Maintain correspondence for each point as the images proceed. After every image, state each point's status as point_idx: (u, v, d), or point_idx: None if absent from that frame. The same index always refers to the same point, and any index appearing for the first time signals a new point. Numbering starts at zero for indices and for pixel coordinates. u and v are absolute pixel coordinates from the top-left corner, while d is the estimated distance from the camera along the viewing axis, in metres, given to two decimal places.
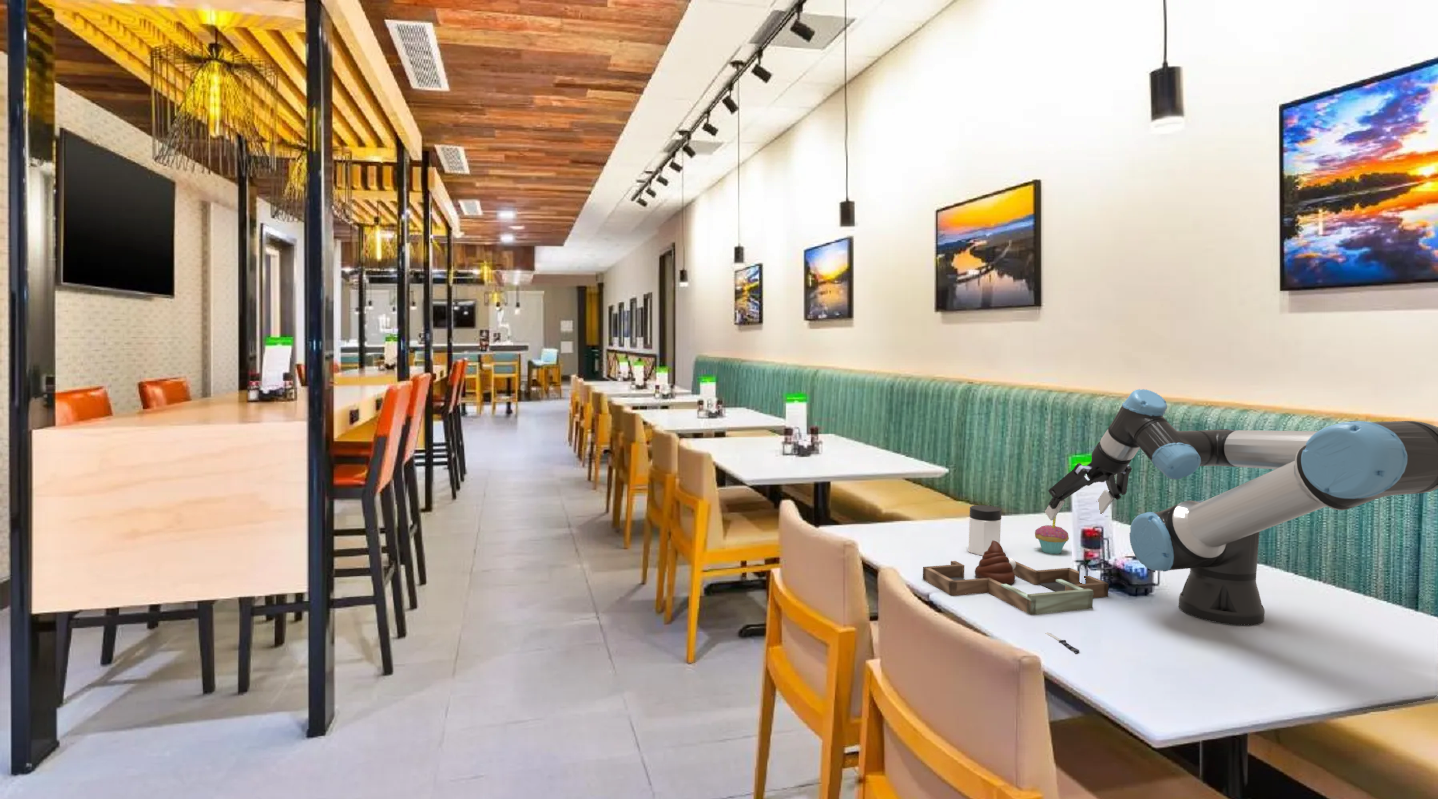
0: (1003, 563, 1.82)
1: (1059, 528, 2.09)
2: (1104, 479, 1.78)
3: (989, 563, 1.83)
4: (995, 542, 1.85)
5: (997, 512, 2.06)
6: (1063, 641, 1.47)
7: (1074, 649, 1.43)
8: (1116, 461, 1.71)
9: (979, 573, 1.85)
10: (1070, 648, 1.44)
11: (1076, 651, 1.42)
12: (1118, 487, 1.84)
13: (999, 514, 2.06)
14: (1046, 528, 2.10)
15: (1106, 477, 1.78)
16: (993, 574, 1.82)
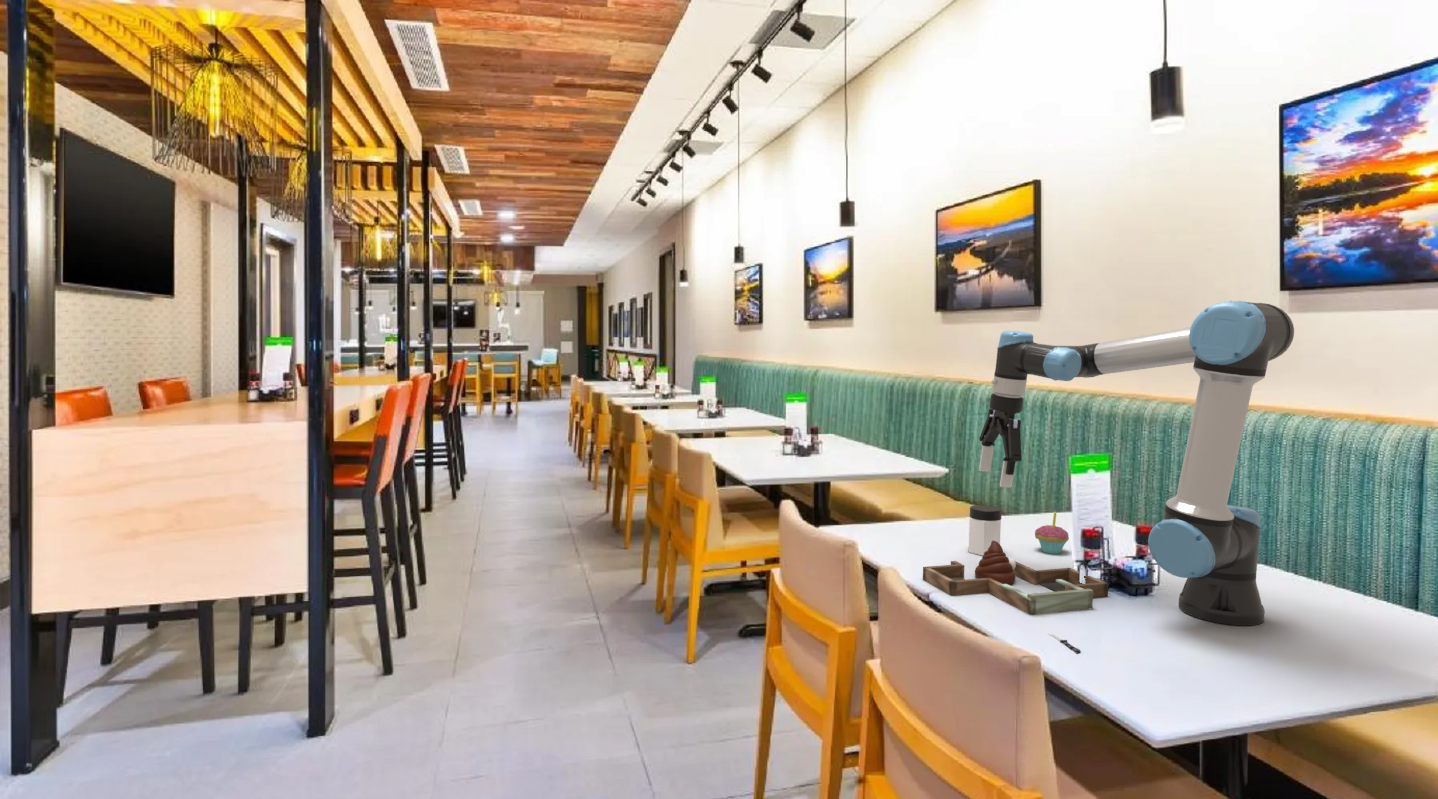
0: (1003, 563, 1.82)
1: (1059, 528, 2.09)
2: None
3: (989, 563, 1.83)
4: (995, 542, 1.85)
5: (997, 512, 2.06)
6: (1064, 641, 1.47)
7: (1075, 649, 1.43)
8: (1022, 398, 1.88)
9: (979, 573, 1.85)
10: (1071, 648, 1.44)
11: (1077, 651, 1.42)
12: None
13: (999, 514, 2.06)
14: (1046, 528, 2.10)
15: None
16: (993, 574, 1.82)
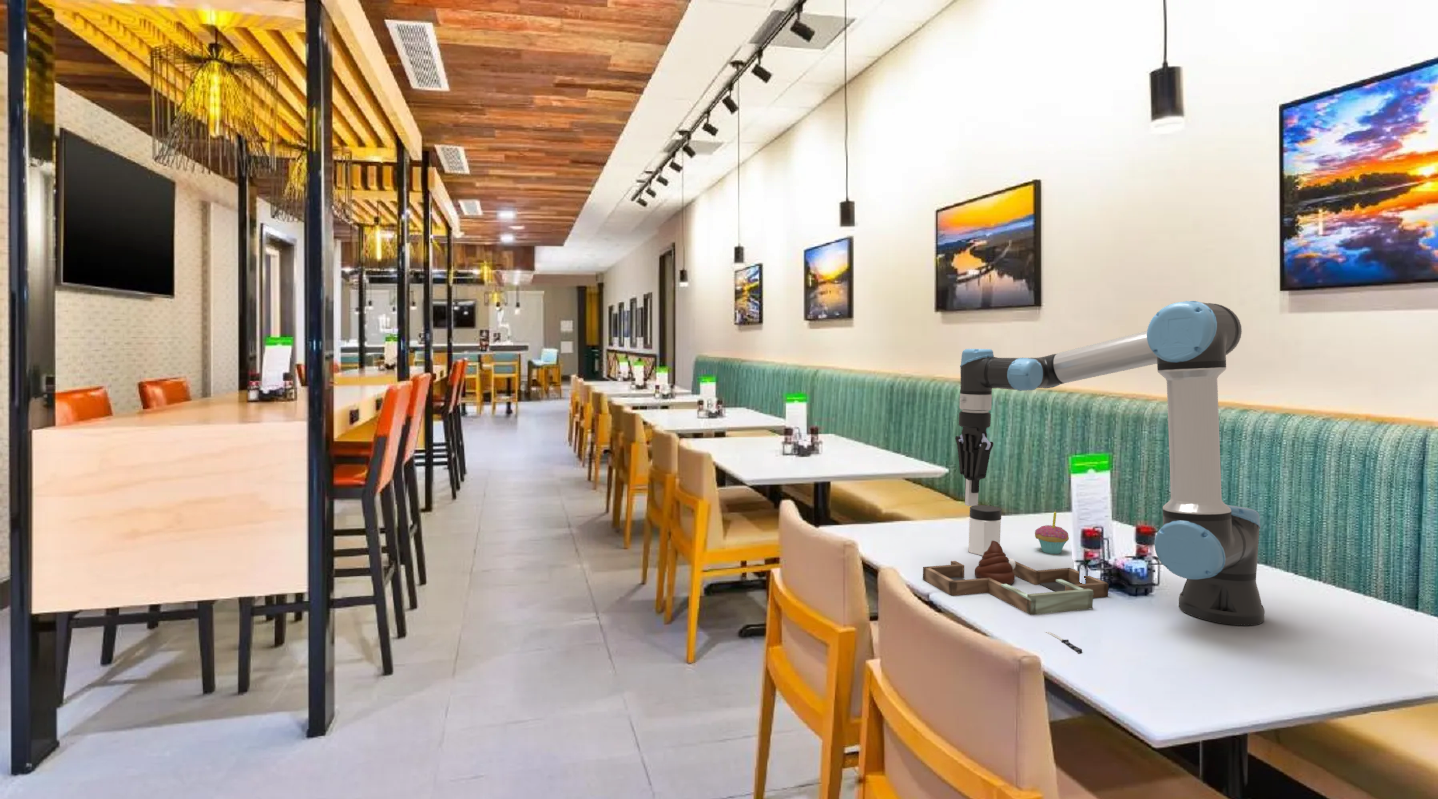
0: (1003, 563, 1.82)
1: (1059, 528, 2.09)
2: None
3: (989, 563, 1.83)
4: (995, 542, 1.85)
5: (997, 512, 2.06)
6: (1066, 641, 1.47)
7: (1077, 648, 1.43)
8: None
9: (979, 573, 1.84)
10: (1073, 647, 1.44)
11: (1079, 650, 1.42)
12: None
13: (999, 514, 2.06)
14: (1046, 528, 2.10)
15: None
16: (992, 574, 1.82)
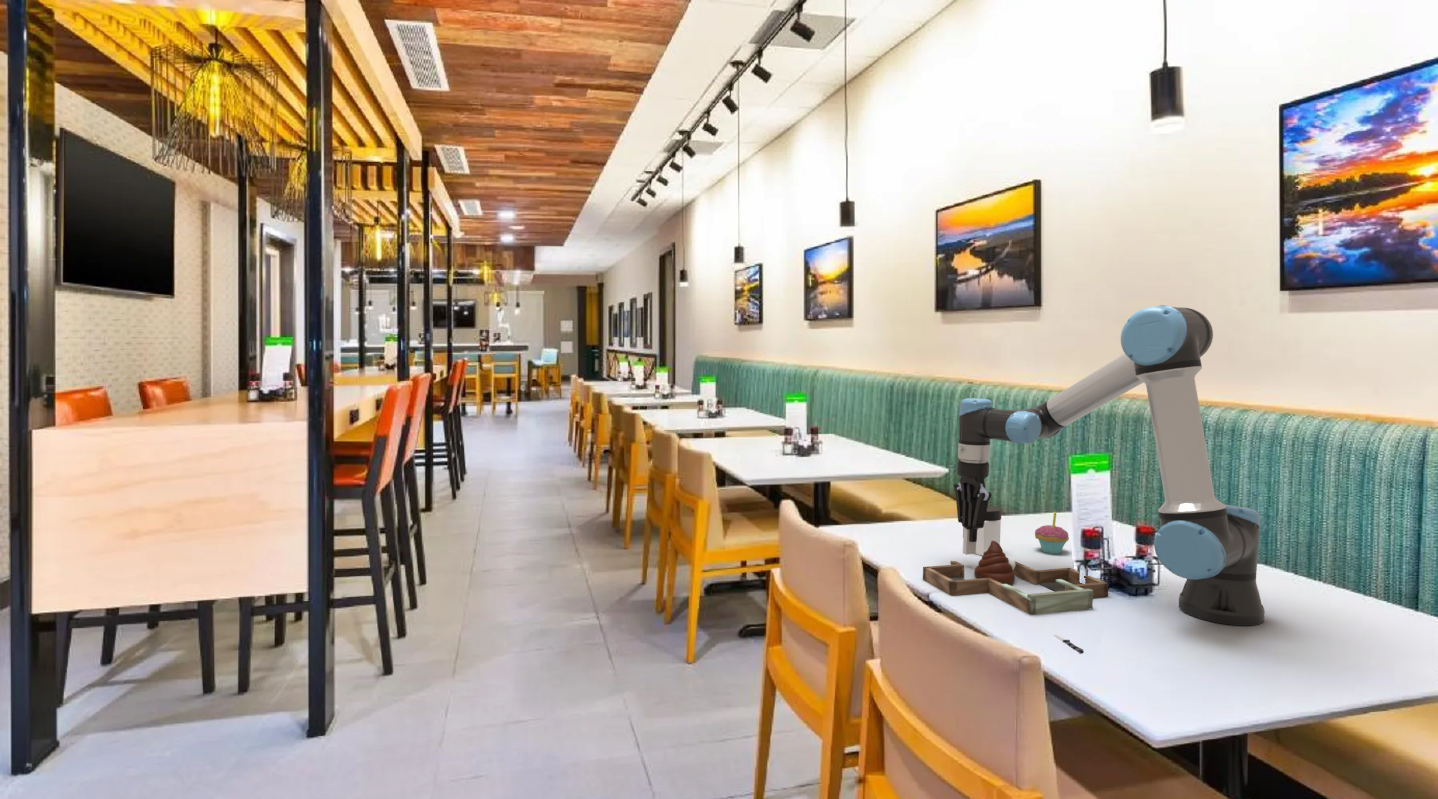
0: (1002, 563, 1.82)
1: (1059, 528, 2.09)
2: None
3: (989, 563, 1.83)
4: (994, 542, 1.85)
5: (997, 512, 2.06)
6: (1067, 641, 1.47)
7: (1078, 649, 1.43)
8: None
9: (979, 573, 1.84)
10: (1074, 648, 1.44)
11: (1080, 651, 1.42)
12: None
13: (999, 514, 2.06)
14: (1046, 528, 2.10)
15: None
16: (992, 574, 1.82)
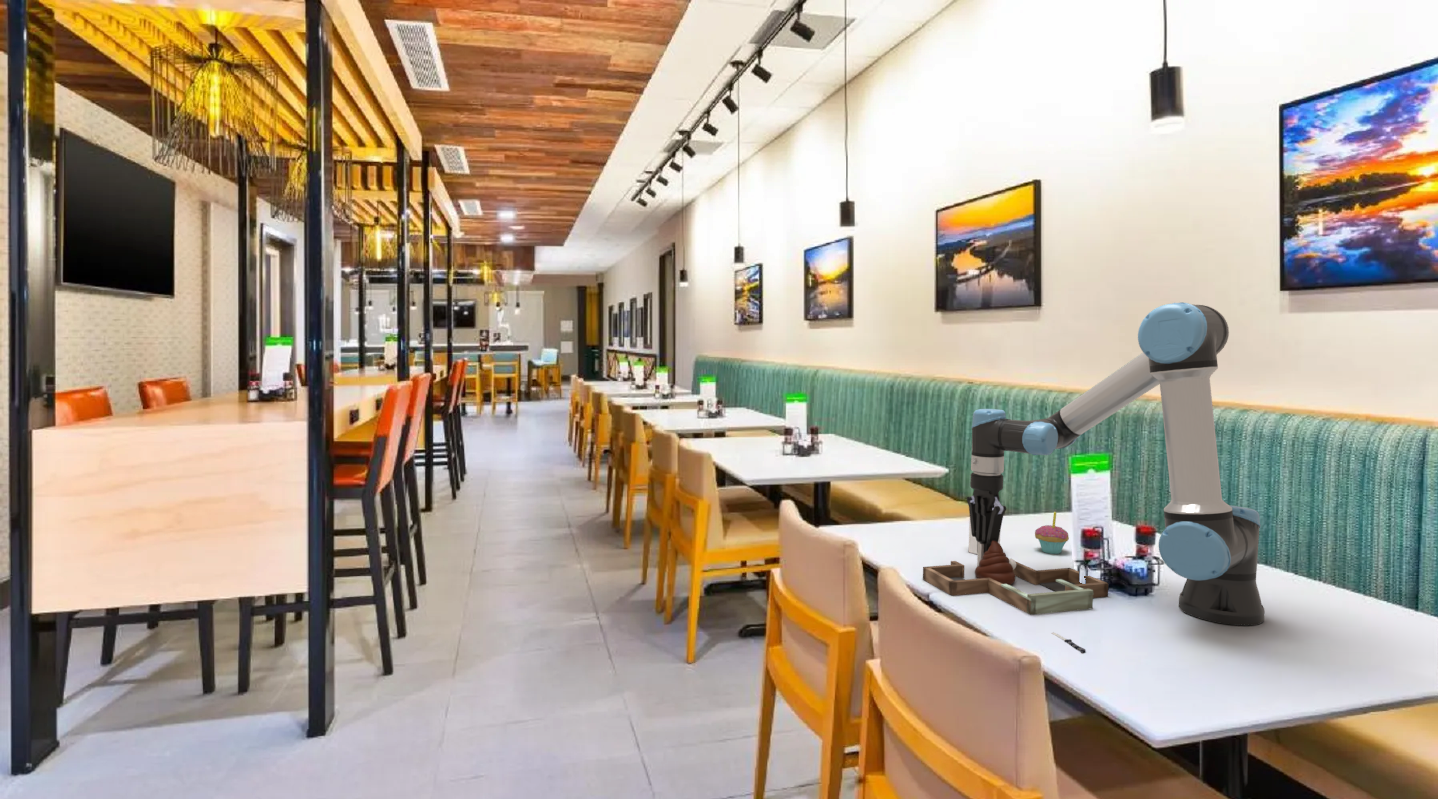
0: (1003, 563, 1.82)
1: (1059, 528, 2.09)
2: None
3: (989, 563, 1.83)
4: (995, 542, 1.85)
5: None
6: (1069, 640, 1.47)
7: (1080, 648, 1.43)
8: None
9: (979, 573, 1.84)
10: (1076, 647, 1.44)
11: (1082, 650, 1.42)
12: None
13: None
14: (1046, 528, 2.10)
15: None
16: (993, 574, 1.81)
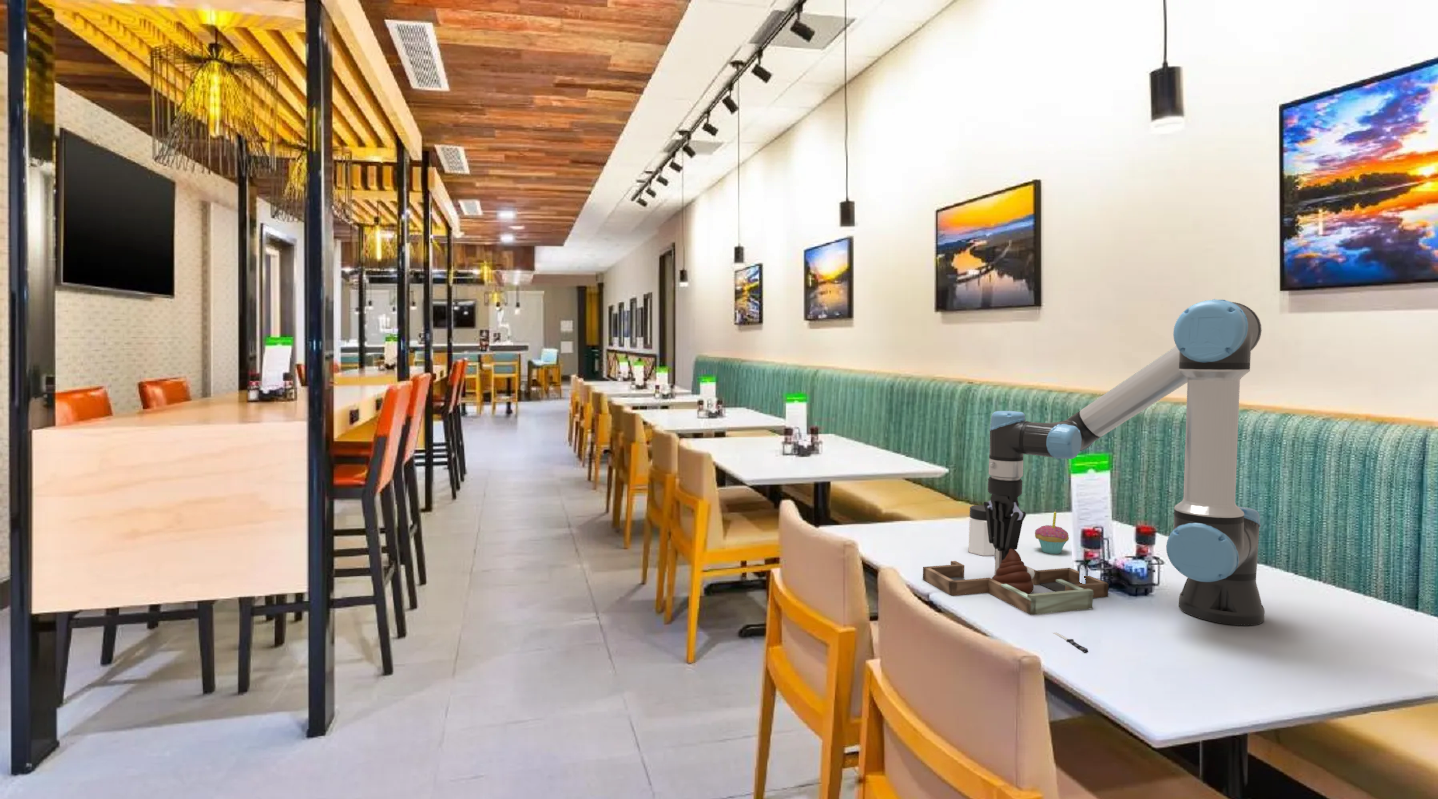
0: (1021, 572, 1.75)
1: (1059, 528, 2.09)
2: None
3: (1007, 572, 1.76)
4: (1013, 550, 1.78)
5: None
6: (1071, 640, 1.47)
7: (1082, 648, 1.43)
8: None
9: None
10: (1078, 647, 1.44)
11: (1085, 650, 1.42)
12: (994, 537, 1.86)
13: None
14: (1046, 528, 2.10)
15: None
16: (1010, 584, 1.74)
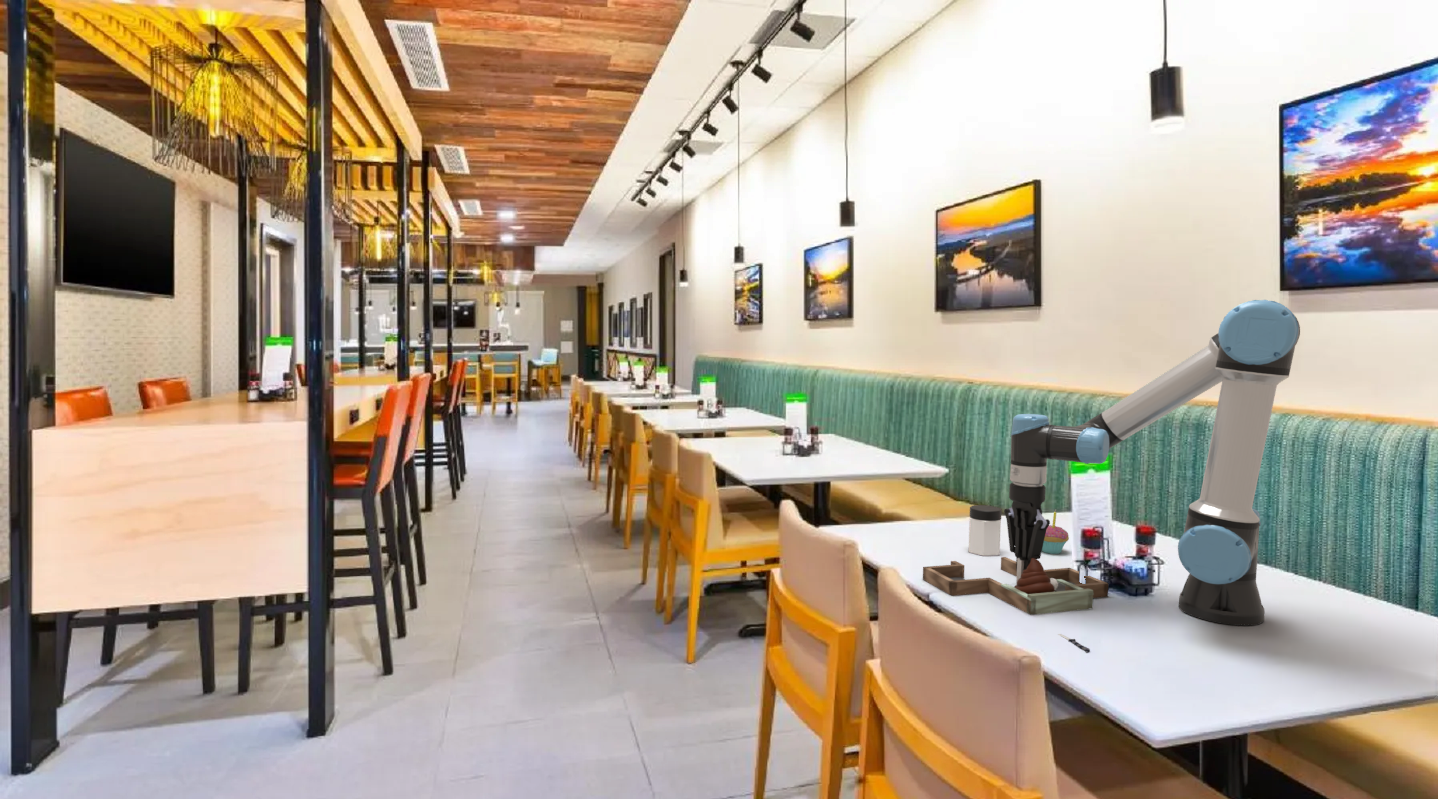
0: (1044, 583, 1.67)
1: (1059, 528, 2.09)
2: None
3: (1029, 583, 1.68)
4: (1035, 560, 1.70)
5: (997, 512, 2.06)
6: (1073, 640, 1.47)
7: (1084, 648, 1.43)
8: None
9: None
10: (1080, 647, 1.44)
11: (1087, 650, 1.43)
12: None
13: (999, 514, 2.06)
14: None
15: None
16: None
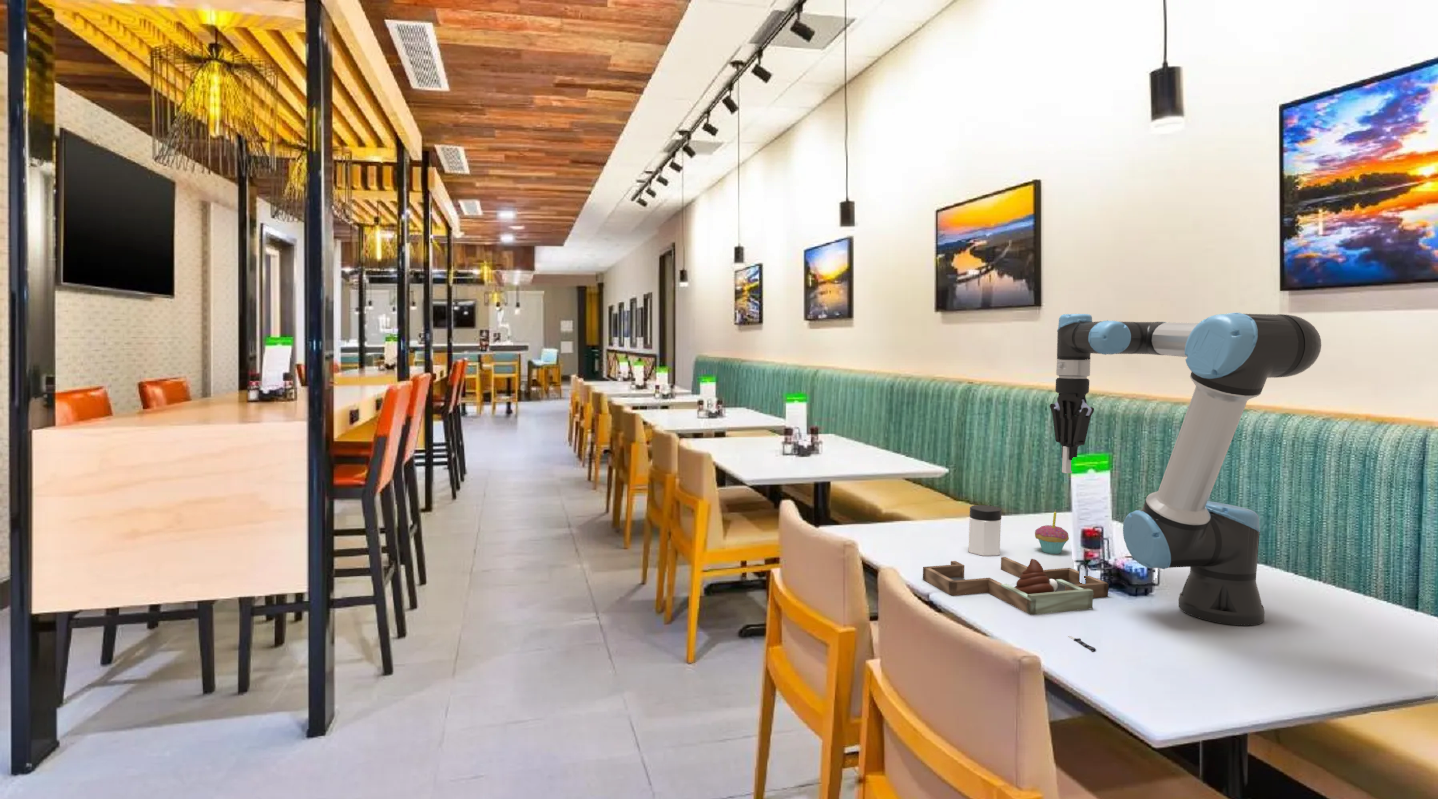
0: (1043, 584, 1.66)
1: (1059, 528, 2.09)
2: None
3: (1028, 584, 1.68)
4: (1034, 561, 1.70)
5: (997, 512, 2.06)
6: (1078, 639, 1.48)
7: (1090, 647, 1.44)
8: None
9: None
10: (1086, 646, 1.45)
11: (1093, 649, 1.43)
12: (1060, 436, 1.95)
13: (999, 514, 2.06)
14: (1046, 528, 2.10)
15: None
16: None
